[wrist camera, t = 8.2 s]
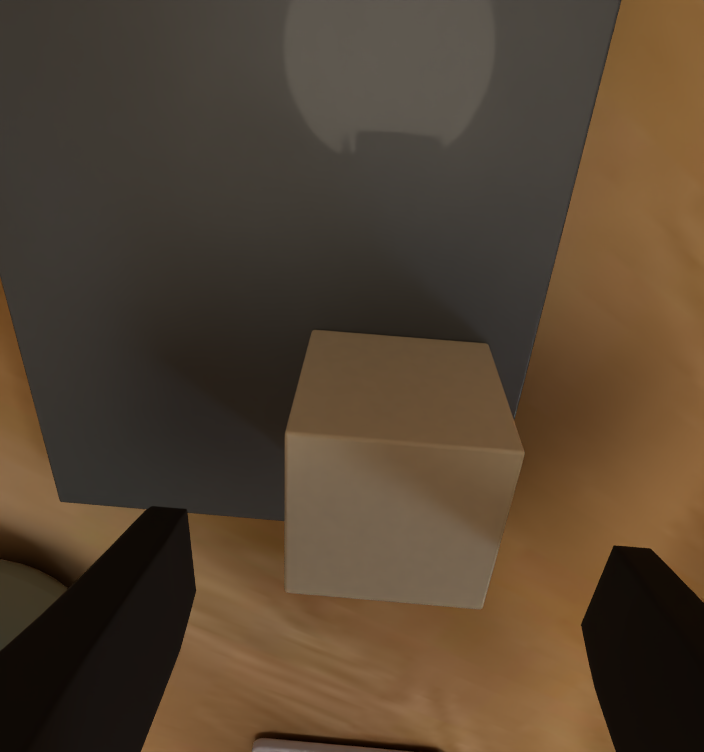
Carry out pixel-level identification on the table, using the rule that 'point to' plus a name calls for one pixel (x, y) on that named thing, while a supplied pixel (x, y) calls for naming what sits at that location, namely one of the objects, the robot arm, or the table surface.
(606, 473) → the table surface
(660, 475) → the table surface
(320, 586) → the cream block
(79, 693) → the robot arm
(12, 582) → the cup
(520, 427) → the table surface
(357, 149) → the board
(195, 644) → the table surface
